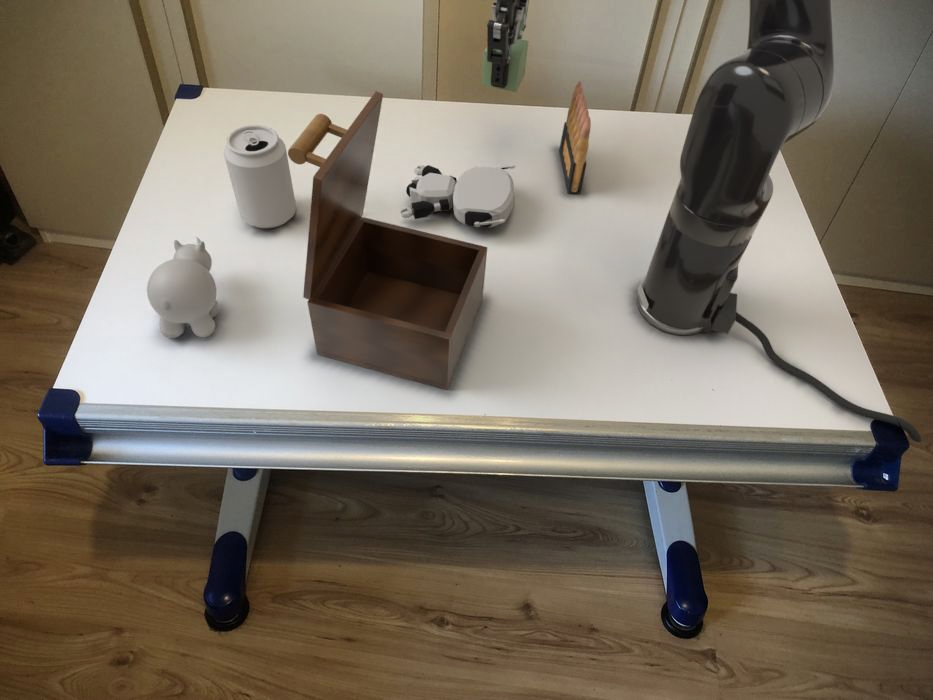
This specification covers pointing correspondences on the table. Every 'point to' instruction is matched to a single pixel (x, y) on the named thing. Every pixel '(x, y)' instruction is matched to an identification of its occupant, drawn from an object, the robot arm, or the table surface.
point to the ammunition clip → (575, 141)
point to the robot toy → (463, 195)
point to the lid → (336, 185)
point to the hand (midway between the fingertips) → (503, 75)
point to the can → (260, 176)
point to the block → (515, 66)
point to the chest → (399, 302)
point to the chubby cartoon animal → (184, 291)
